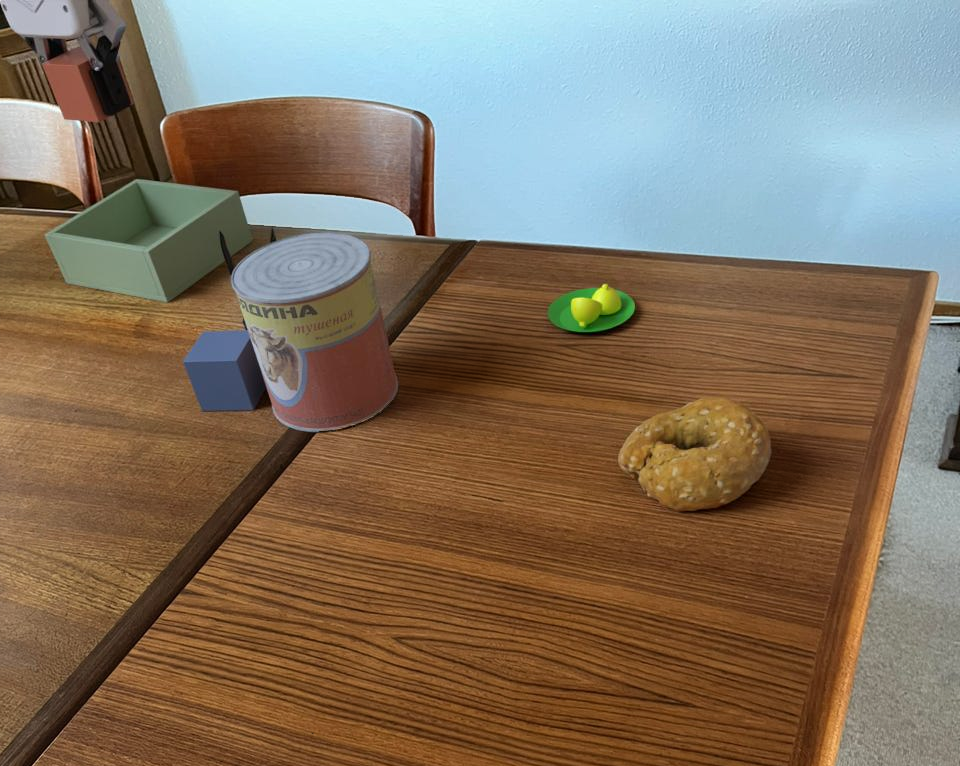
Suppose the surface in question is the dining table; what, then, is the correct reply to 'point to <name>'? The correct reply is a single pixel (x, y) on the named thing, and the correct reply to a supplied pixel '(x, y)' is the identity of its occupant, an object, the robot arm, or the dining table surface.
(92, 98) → the terracotta block
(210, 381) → the slate-blue block
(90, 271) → the bin
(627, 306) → the green plate with lemons
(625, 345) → the dining table surface
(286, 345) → the canned food
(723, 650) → the dining table surface
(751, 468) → the bagel
